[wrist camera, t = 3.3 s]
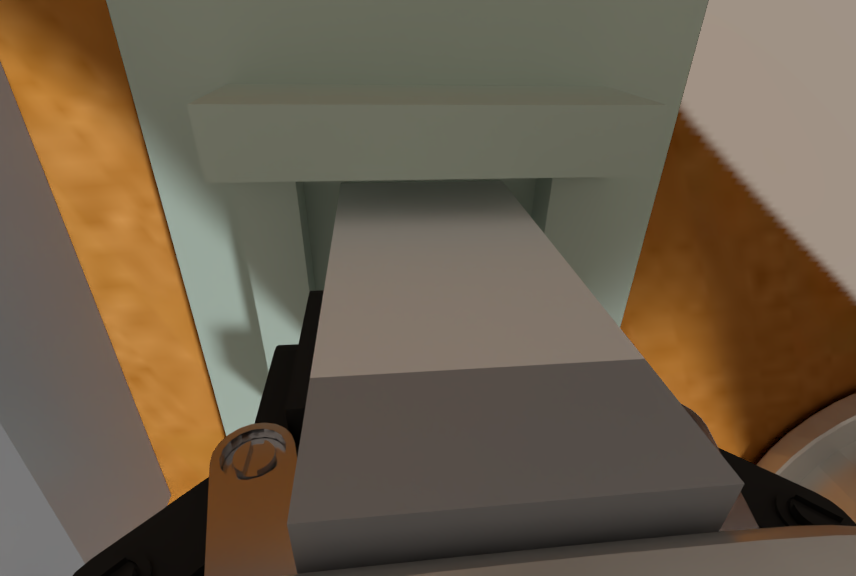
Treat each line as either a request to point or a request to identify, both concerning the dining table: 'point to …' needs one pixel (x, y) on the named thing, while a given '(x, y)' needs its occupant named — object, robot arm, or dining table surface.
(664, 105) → the pale green cradle tray
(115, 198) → the dining table surface
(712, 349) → the dining table surface
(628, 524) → the plug
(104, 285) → the dining table surface
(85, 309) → the block
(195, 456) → the dining table surface
